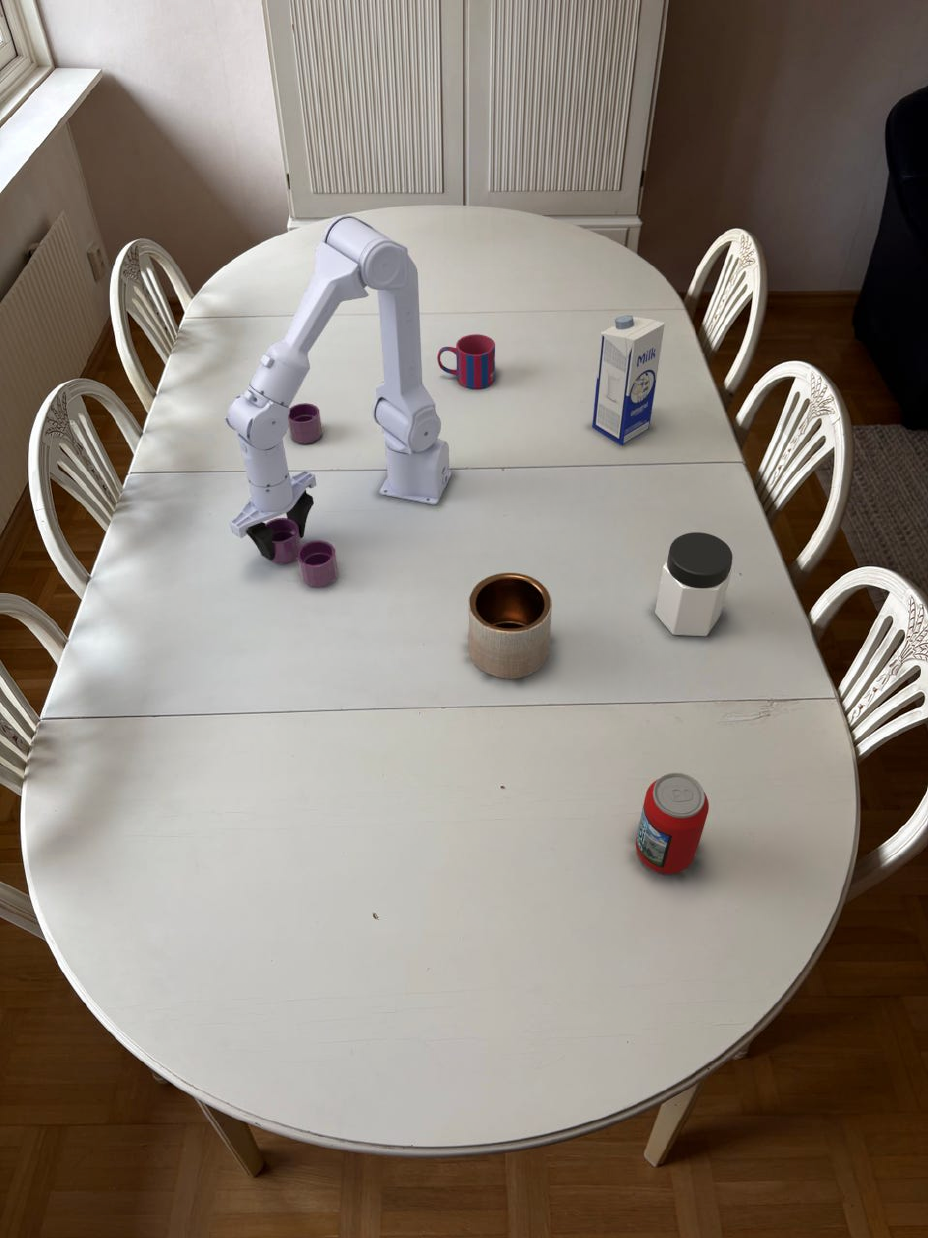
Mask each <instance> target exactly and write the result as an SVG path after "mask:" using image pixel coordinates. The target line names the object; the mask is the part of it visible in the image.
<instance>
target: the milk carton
mask: <svg viewBox="0 0 928 1238" xmlns="http://www.w3.org/2000/svg"><path fill="white" fill-rule="evenodd" d="M614 323H615V324H614V325H613V326H610V327H608V328H606V329H605V330H603V331H601V332H600V341H599V352H598V362H597V375H596V382H595V394H594V402H593V403H594V404H593V416H592V424H591V428H592V429H594V430H595V431H597V432H598V433H600V434H601V435H603V436H605V437H606V438H608V439H610V440H611V441H613V442H615V443H616V444H617V445H619V446H621V447H622V446H624V445H626V444H628V443H629V442H631V441H632V440H633V439H635V438H637V437H638V436H640V435H642V434H644V433H645V432H648V431H649V430H650V425H651V419H652V414H653V412H652V411H653V406H654V398H655V392H656V385H657V379H658V372H659V365H660V358H661V352H662V345H663V339H664V331H665V325H666V323H665V322H662V321H659V320H657V319H651V318H646V317H645V318H644V317H638V316H633V315H624V316H622V315H621V316H618V317H617V318H615V319H614Z"/></svg>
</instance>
